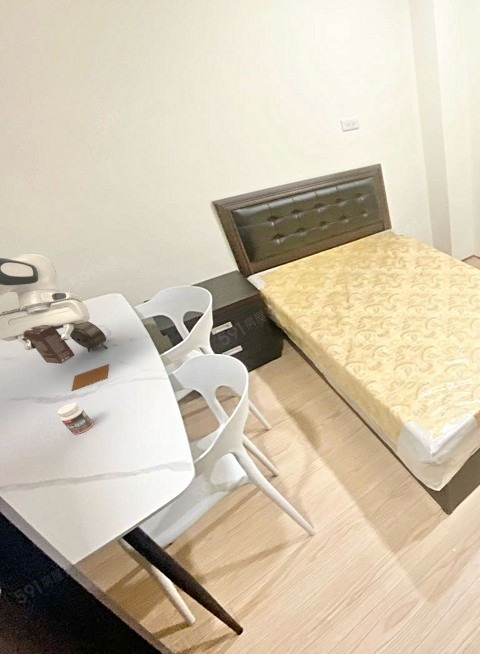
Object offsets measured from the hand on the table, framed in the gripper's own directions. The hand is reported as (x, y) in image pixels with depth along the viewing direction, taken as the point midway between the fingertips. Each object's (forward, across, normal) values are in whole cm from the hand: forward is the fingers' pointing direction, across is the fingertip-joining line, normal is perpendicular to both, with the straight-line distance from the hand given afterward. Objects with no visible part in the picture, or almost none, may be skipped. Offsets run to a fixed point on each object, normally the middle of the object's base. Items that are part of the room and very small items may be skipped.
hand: (48, 344), depth 122 cm
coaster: (+10, +1, +17) cm, 19 cm away
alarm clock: (-4, -2, +31) cm, 31 cm away
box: (+4, 0, +5) cm, 7 cm away
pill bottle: (+29, +5, -2) cm, 30 cm away
